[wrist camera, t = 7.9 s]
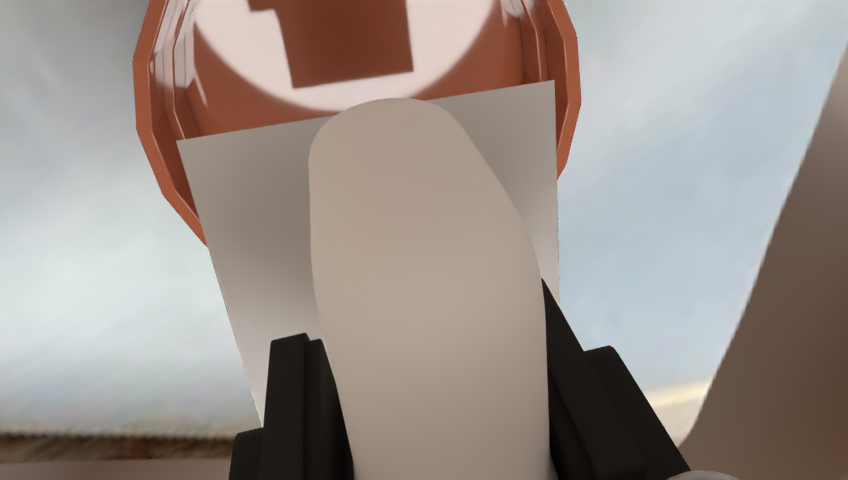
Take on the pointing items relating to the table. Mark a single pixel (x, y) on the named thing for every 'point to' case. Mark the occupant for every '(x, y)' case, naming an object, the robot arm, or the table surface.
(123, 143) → the table surface
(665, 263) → the table surface
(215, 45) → the bowl
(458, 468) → the figurine
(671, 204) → the table surface
